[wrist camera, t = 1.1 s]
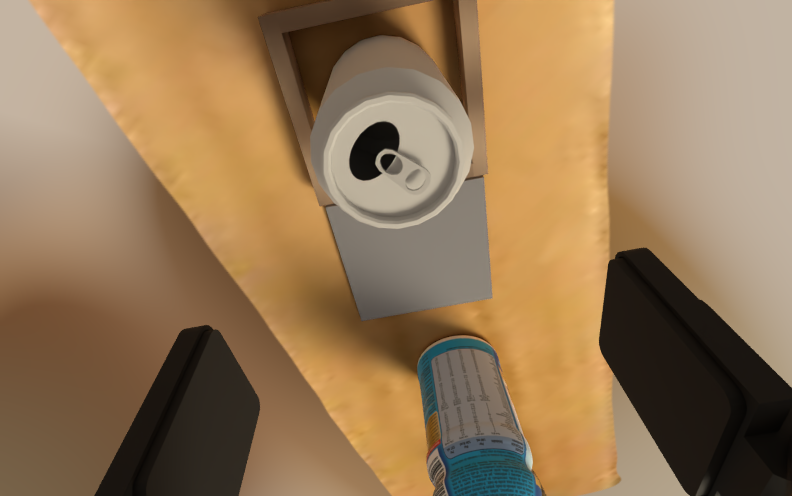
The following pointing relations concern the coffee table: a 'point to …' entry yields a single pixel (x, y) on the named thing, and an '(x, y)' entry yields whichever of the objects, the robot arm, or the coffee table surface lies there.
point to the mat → (418, 257)
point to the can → (390, 135)
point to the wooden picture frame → (351, 3)
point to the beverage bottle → (472, 423)
